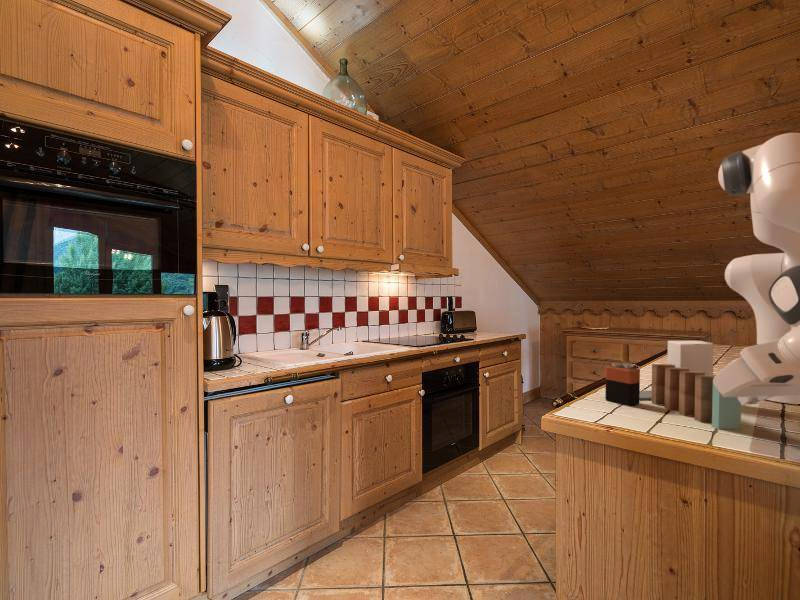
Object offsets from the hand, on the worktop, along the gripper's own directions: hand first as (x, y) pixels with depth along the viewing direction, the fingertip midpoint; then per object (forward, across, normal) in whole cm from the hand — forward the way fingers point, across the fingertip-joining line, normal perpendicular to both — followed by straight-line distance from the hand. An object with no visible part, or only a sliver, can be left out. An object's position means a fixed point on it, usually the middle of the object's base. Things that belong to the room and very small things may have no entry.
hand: (745, 401), depth 81 cm
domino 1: (+20, 0, -11) cm, 23 cm away
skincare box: (+22, -9, -12) cm, 27 cm away
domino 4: (+11, 0, -1) cm, 11 cm away
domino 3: (+14, 0, -4) cm, 15 cm away
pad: (+25, 0, -16) cm, 30 cm away
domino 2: (+17, 0, -8) cm, 19 cm away
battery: (+22, +10, -12) cm, 27 cm away
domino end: (+8, 0, +2) cm, 8 cm away
